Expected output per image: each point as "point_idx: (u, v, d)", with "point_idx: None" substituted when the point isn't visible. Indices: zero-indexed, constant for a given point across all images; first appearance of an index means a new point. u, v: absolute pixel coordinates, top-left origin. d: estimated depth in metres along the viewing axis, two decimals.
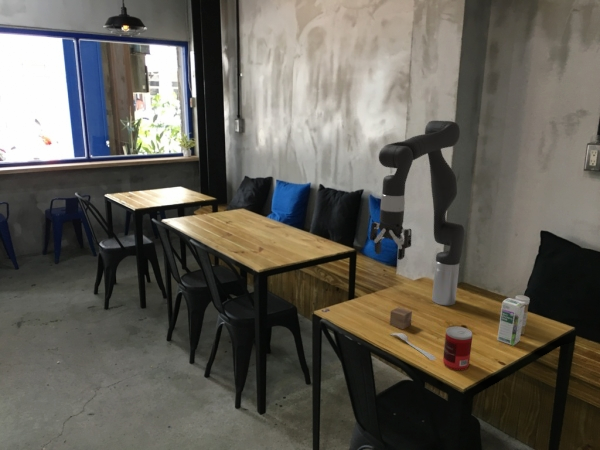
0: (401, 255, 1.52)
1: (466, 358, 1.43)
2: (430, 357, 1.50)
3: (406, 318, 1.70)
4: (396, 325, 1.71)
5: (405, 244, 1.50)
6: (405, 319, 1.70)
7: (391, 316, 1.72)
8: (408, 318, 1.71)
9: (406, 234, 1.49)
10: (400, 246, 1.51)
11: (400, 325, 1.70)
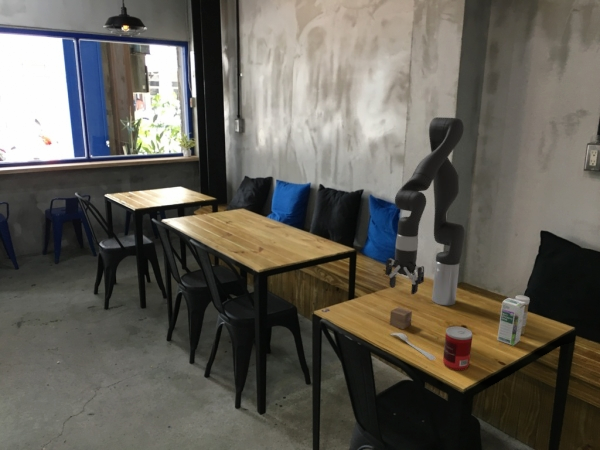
0: (414, 290, 1.66)
1: (466, 358, 1.43)
2: (430, 357, 1.50)
3: (406, 318, 1.70)
4: (396, 325, 1.71)
5: (418, 280, 1.64)
6: (405, 319, 1.70)
7: (391, 316, 1.72)
8: (408, 318, 1.71)
9: (419, 271, 1.63)
10: (414, 282, 1.65)
11: (400, 325, 1.70)
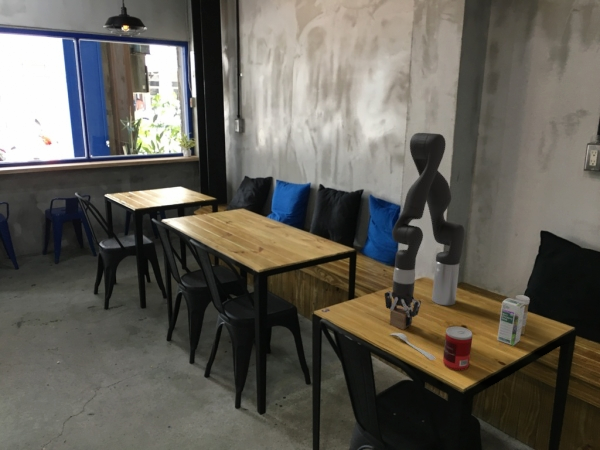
0: (409, 322, 1.70)
1: (466, 358, 1.43)
2: (430, 357, 1.50)
3: None
4: (396, 325, 1.71)
5: (413, 313, 1.67)
6: None
7: (391, 316, 1.72)
8: None
9: (416, 306, 1.66)
10: (408, 315, 1.69)
11: (400, 325, 1.70)
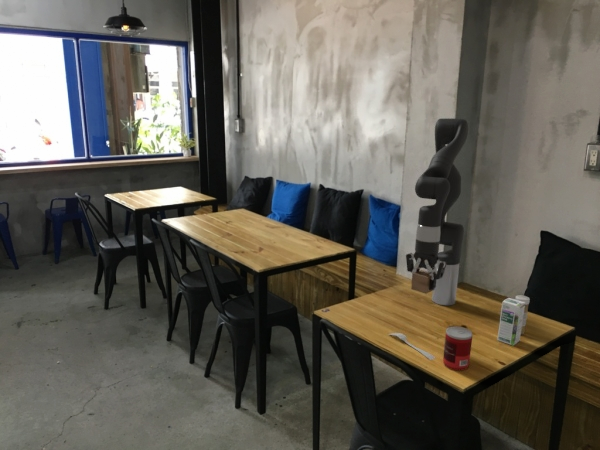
0: (432, 286, 1.55)
1: (466, 358, 1.43)
2: (429, 357, 1.50)
3: (429, 281, 1.55)
4: (418, 289, 1.56)
5: (437, 275, 1.52)
6: (429, 282, 1.55)
7: (413, 279, 1.57)
8: None
9: (441, 267, 1.51)
10: (432, 277, 1.54)
11: (423, 289, 1.55)
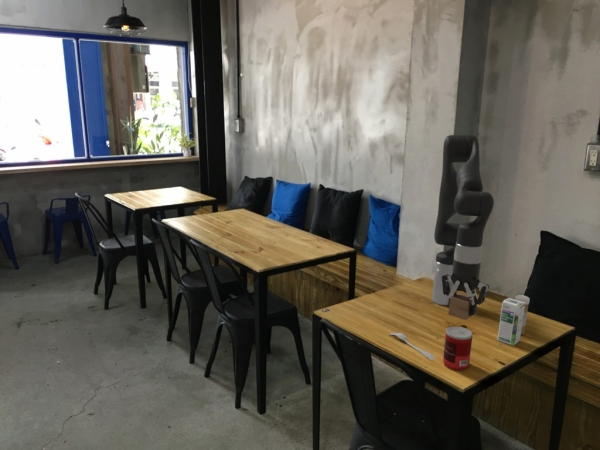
0: (473, 311, 1.40)
1: (466, 358, 1.43)
2: (429, 357, 1.51)
3: (469, 306, 1.39)
4: (457, 315, 1.41)
5: (479, 300, 1.37)
6: (469, 307, 1.40)
7: (450, 304, 1.42)
8: None
9: (483, 291, 1.36)
10: (472, 302, 1.39)
11: (463, 315, 1.40)
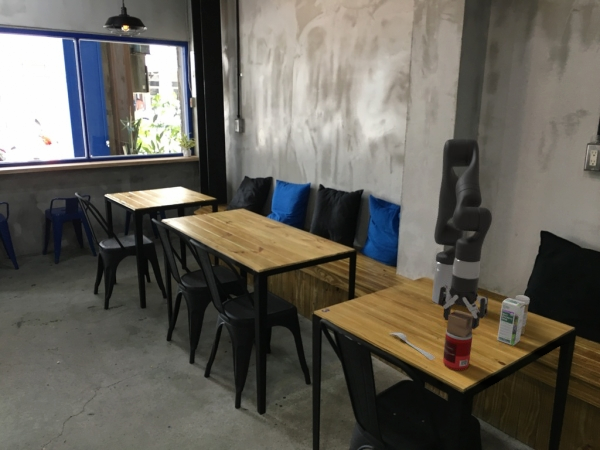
0: (475, 324, 1.40)
1: (466, 358, 1.43)
2: (429, 357, 1.51)
3: (467, 323, 1.41)
4: (455, 332, 1.42)
5: (481, 314, 1.37)
6: (467, 325, 1.41)
7: (449, 321, 1.43)
8: (469, 324, 1.42)
9: (483, 303, 1.37)
10: (475, 315, 1.39)
11: (461, 332, 1.41)
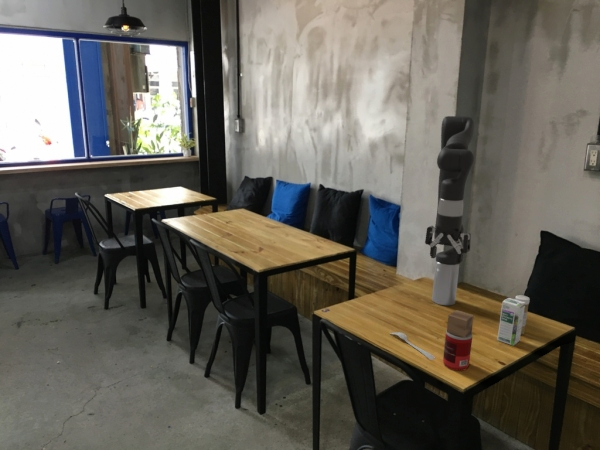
0: (459, 260, 1.50)
1: (466, 358, 1.43)
2: (429, 356, 1.51)
3: (467, 324, 1.41)
4: (455, 332, 1.42)
5: (464, 249, 1.48)
6: (467, 325, 1.41)
7: (449, 321, 1.43)
8: (469, 324, 1.42)
9: (466, 239, 1.47)
10: (459, 251, 1.49)
11: (461, 332, 1.41)
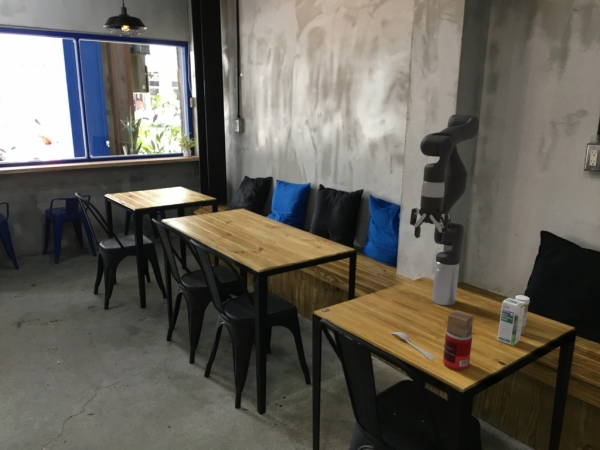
0: (441, 238, 1.63)
1: (466, 358, 1.43)
2: (429, 356, 1.51)
3: (467, 324, 1.41)
4: (455, 332, 1.42)
5: (445, 228, 1.60)
6: (467, 325, 1.41)
7: (449, 321, 1.43)
8: (469, 324, 1.42)
9: (446, 218, 1.59)
10: (440, 230, 1.62)
11: (461, 332, 1.41)
